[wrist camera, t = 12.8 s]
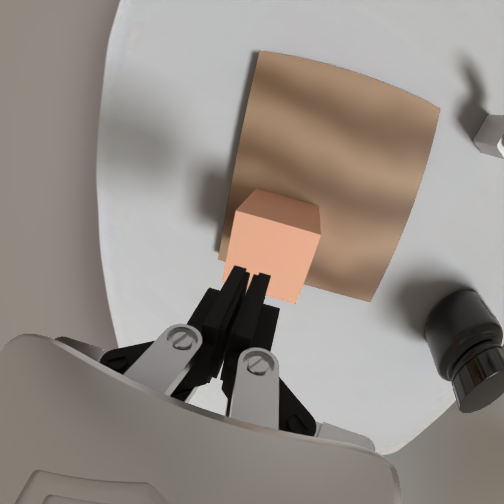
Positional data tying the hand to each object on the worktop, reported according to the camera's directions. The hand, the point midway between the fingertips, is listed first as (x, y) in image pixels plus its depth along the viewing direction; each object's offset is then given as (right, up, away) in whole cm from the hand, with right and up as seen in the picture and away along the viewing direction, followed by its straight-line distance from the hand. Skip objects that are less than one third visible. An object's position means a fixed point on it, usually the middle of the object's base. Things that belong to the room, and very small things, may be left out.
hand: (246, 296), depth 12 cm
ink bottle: (+25, -6, +13) cm, 29 cm away
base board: (+7, +8, +10) cm, 15 cm away
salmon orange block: (+3, +4, +12) cm, 13 cm away
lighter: (+24, +15, +4) cm, 28 cm away
